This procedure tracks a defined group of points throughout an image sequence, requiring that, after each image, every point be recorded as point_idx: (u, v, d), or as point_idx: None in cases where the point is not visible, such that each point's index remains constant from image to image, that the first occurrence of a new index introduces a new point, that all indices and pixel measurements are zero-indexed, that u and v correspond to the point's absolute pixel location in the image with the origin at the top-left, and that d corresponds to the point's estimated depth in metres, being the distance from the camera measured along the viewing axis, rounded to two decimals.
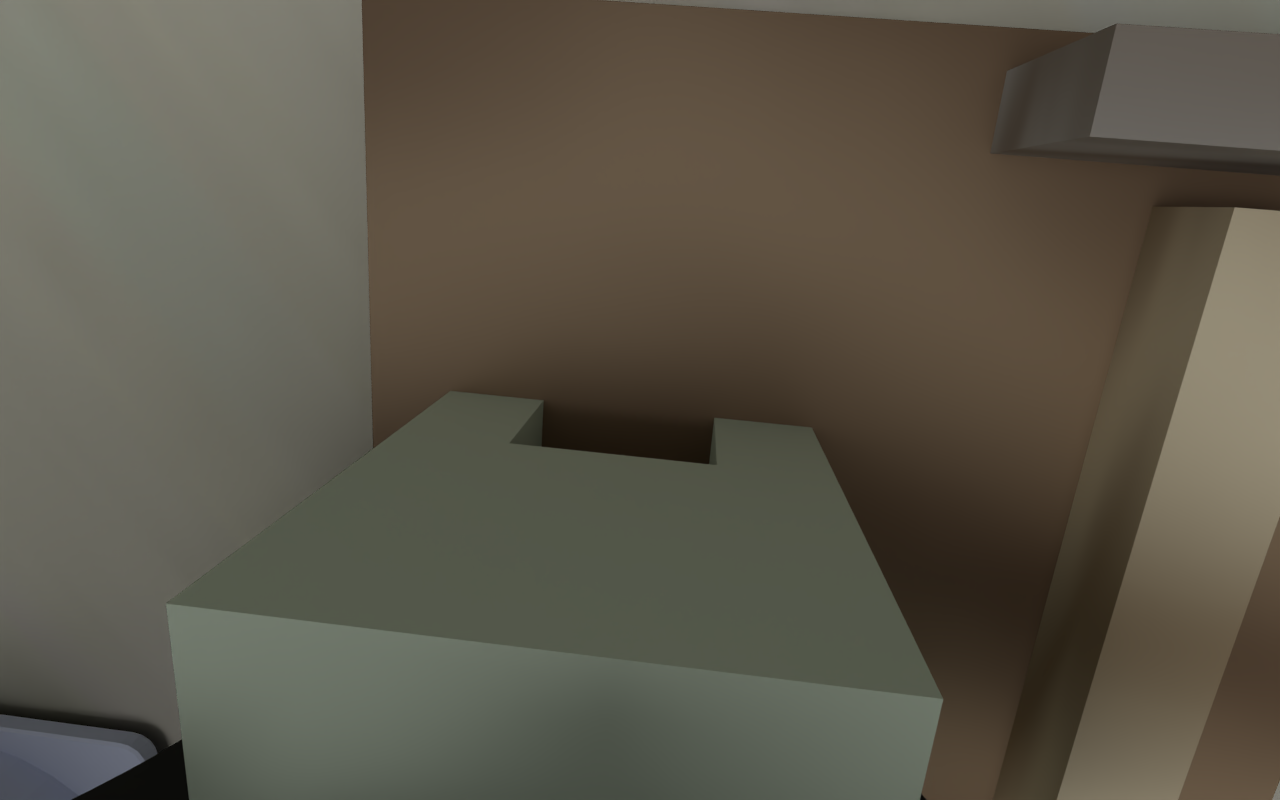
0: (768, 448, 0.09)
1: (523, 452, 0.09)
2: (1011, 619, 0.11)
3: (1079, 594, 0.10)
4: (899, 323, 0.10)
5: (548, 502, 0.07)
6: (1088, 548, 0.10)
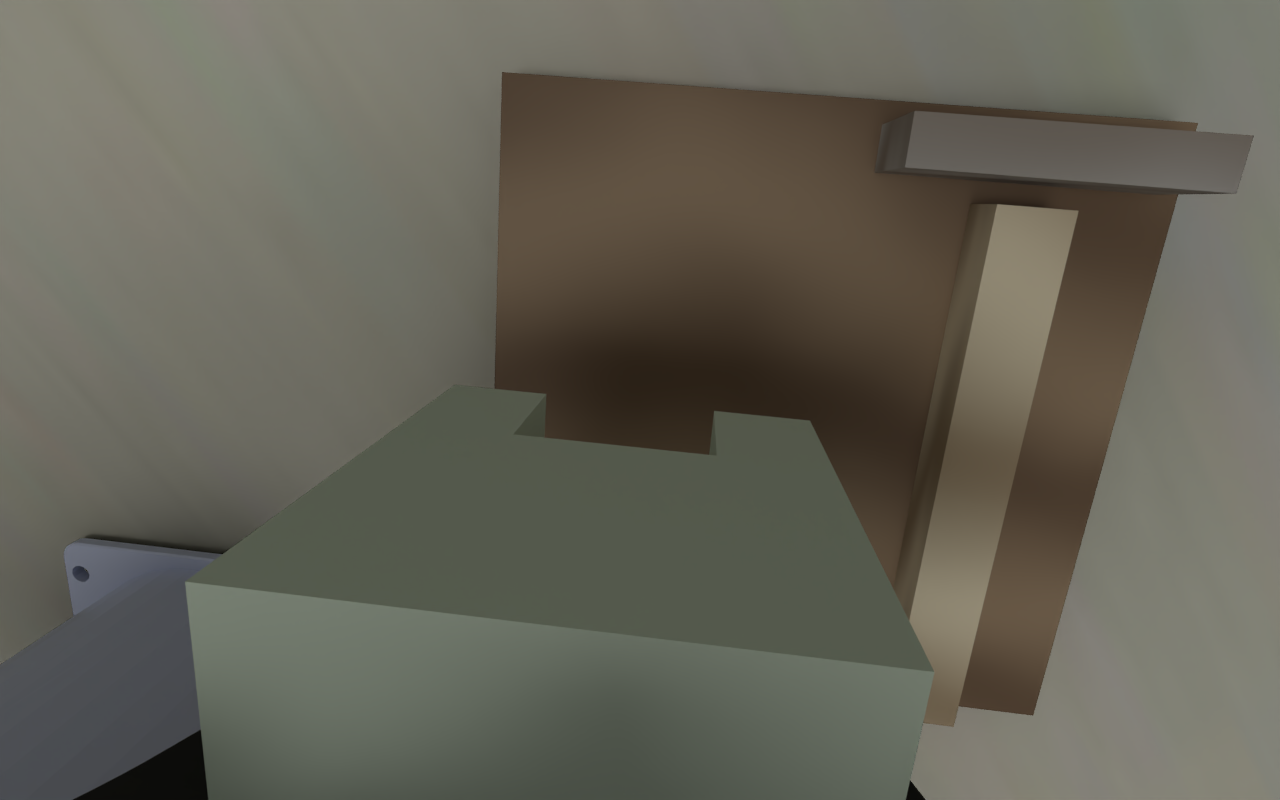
0: (766, 440, 0.10)
1: (527, 443, 0.09)
2: (899, 465, 0.18)
3: (934, 440, 0.17)
4: (824, 274, 0.16)
5: (552, 489, 0.07)
6: (938, 412, 0.16)
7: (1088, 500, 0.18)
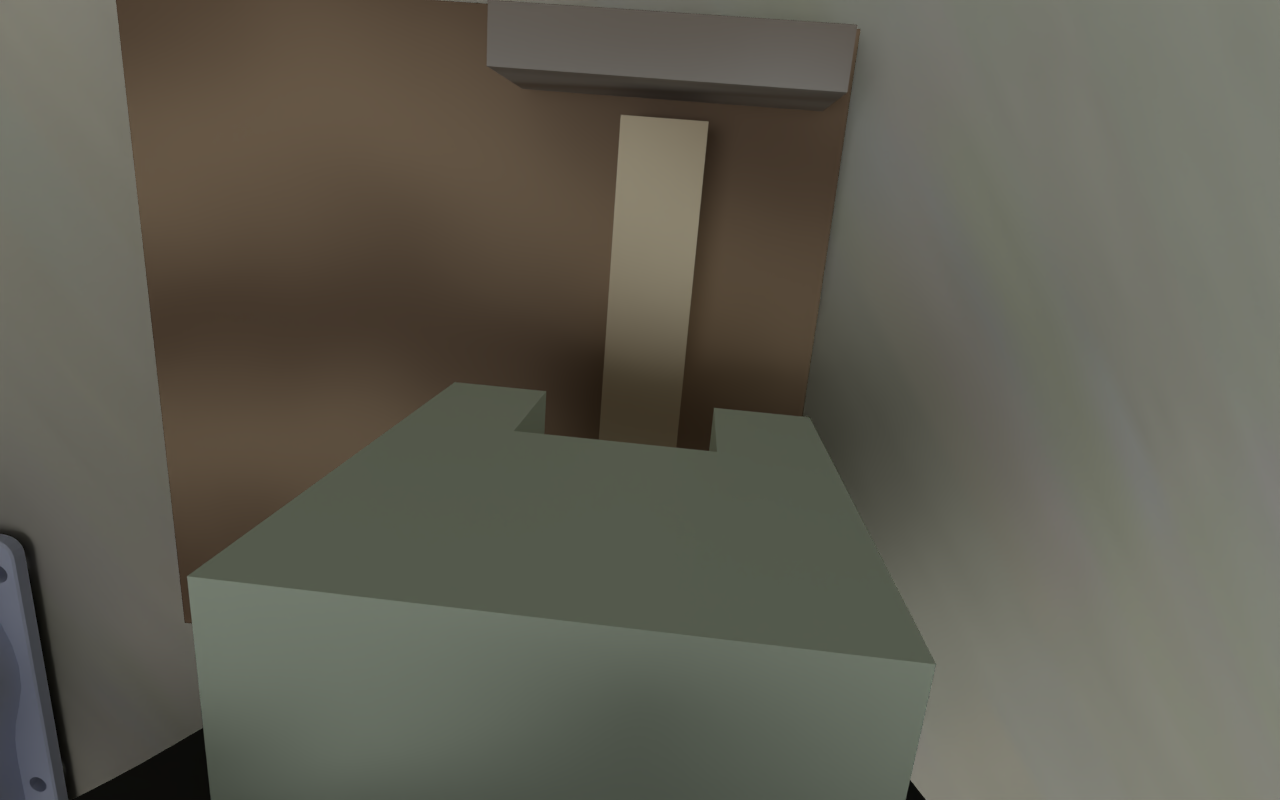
0: (766, 436, 0.10)
1: (527, 440, 0.09)
2: (588, 417, 0.16)
3: None
4: (483, 205, 0.15)
5: (553, 485, 0.07)
6: None
7: None
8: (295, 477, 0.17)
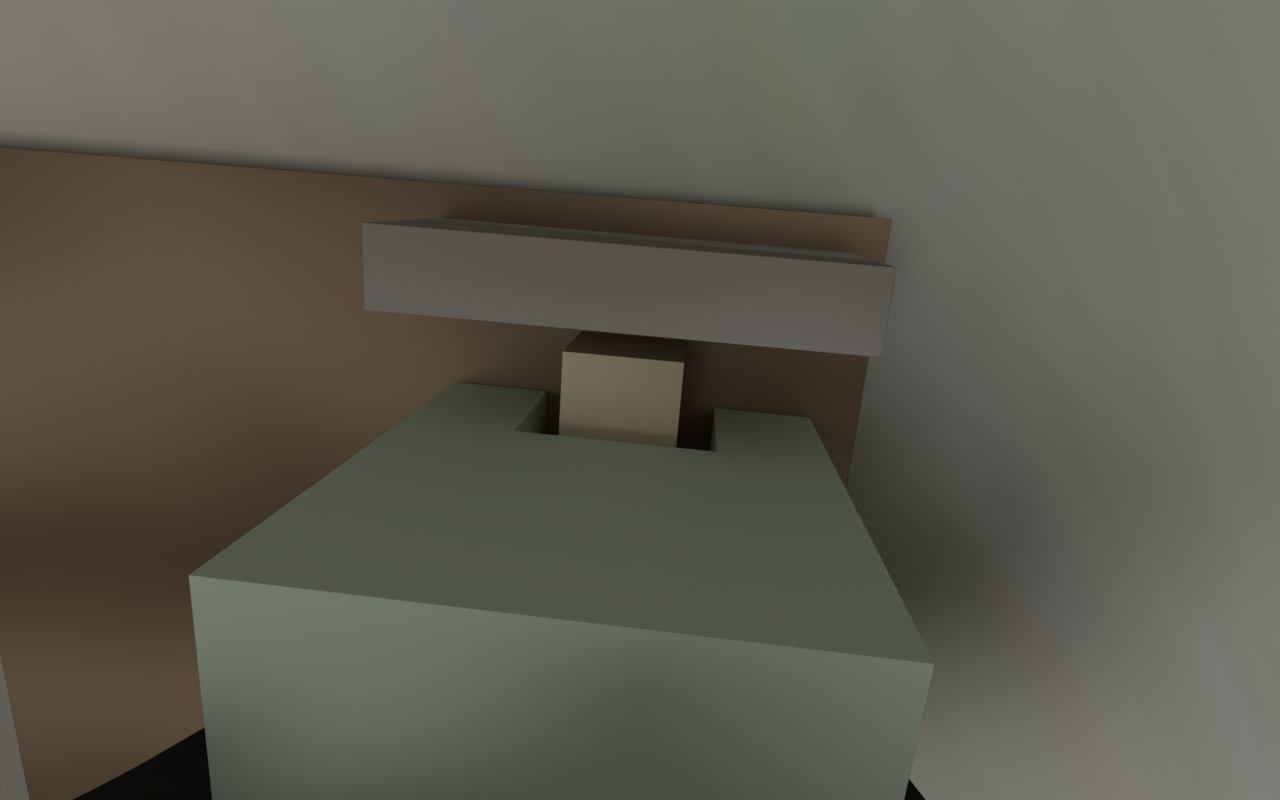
0: (767, 436, 0.10)
1: (528, 439, 0.09)
2: None
3: None
4: None
5: (553, 485, 0.07)
6: None
7: None
8: (171, 736, 0.14)
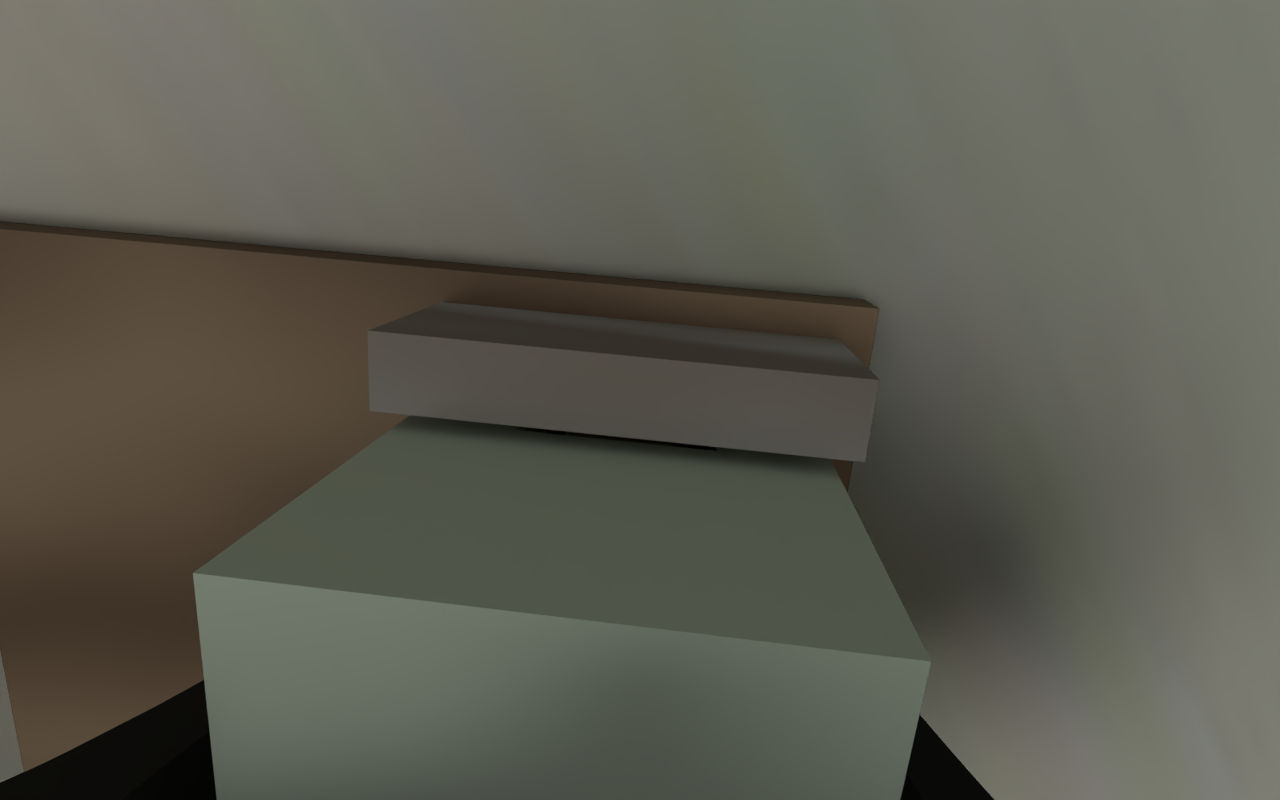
0: None
1: (529, 439, 0.09)
2: None
3: None
4: None
5: (554, 484, 0.08)
6: None
7: None
8: None
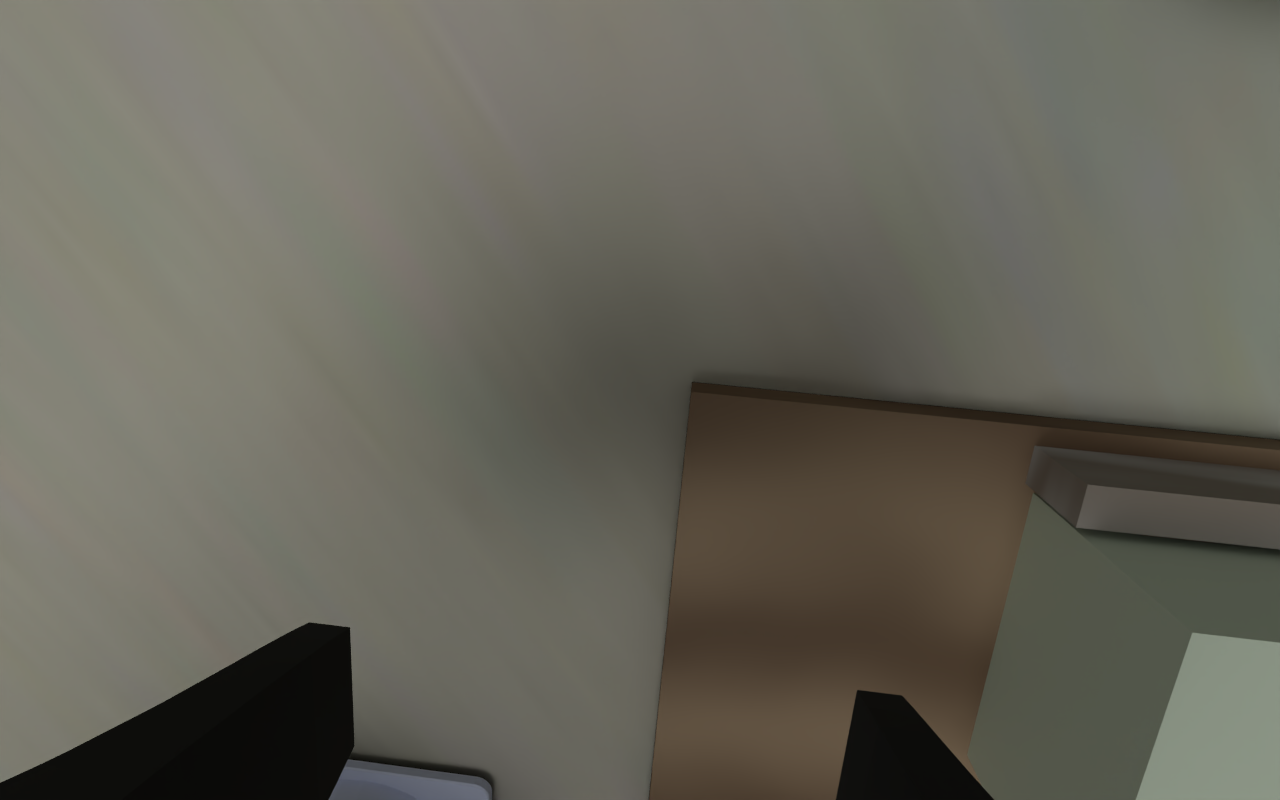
0: None
1: (1160, 542, 0.15)
2: None
3: None
4: (974, 563, 0.18)
5: (1231, 576, 0.14)
6: None
7: None
8: (767, 754, 0.20)
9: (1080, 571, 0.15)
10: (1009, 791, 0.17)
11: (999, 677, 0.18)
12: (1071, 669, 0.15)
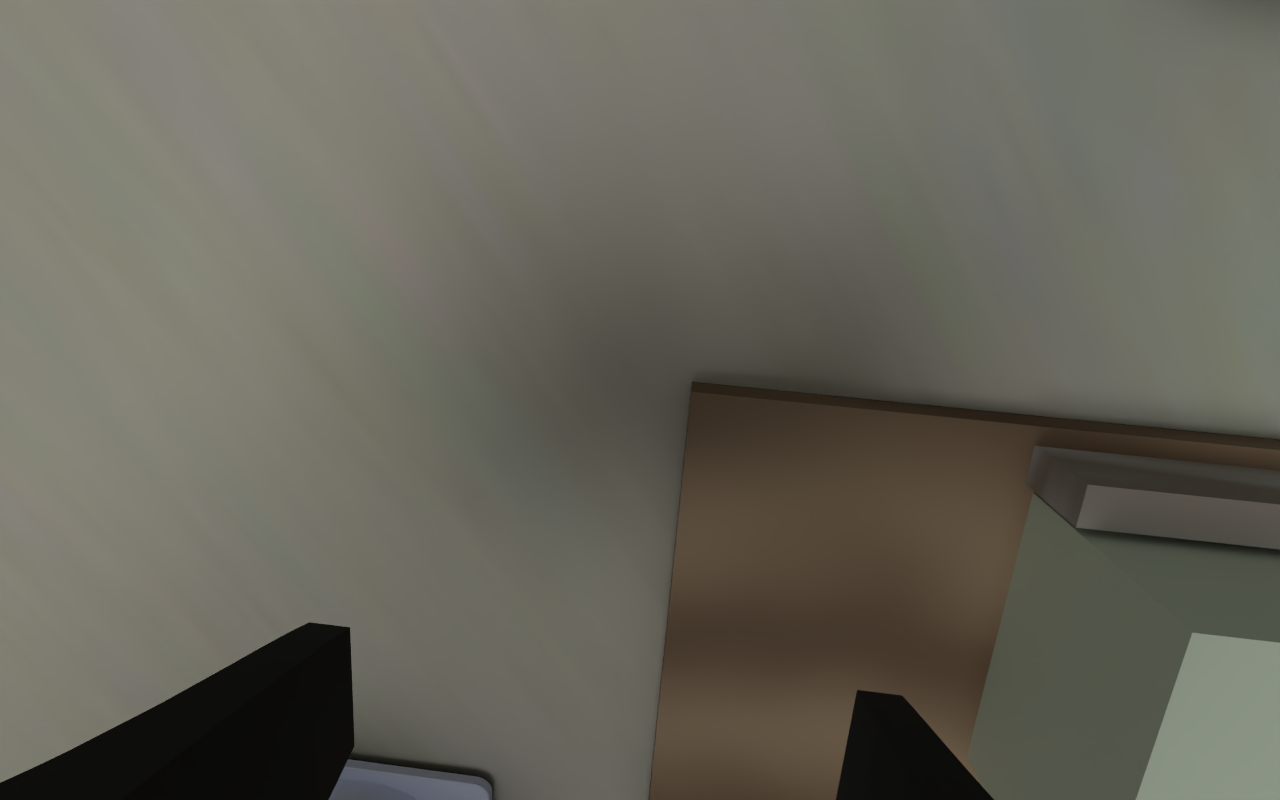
0: None
1: (1160, 542, 0.15)
2: None
3: None
4: (974, 563, 0.18)
5: (1231, 576, 0.14)
6: None
7: None
8: (767, 754, 0.20)
9: (1080, 571, 0.15)
10: (1009, 791, 0.17)
11: (999, 677, 0.18)
12: (1071, 669, 0.15)
